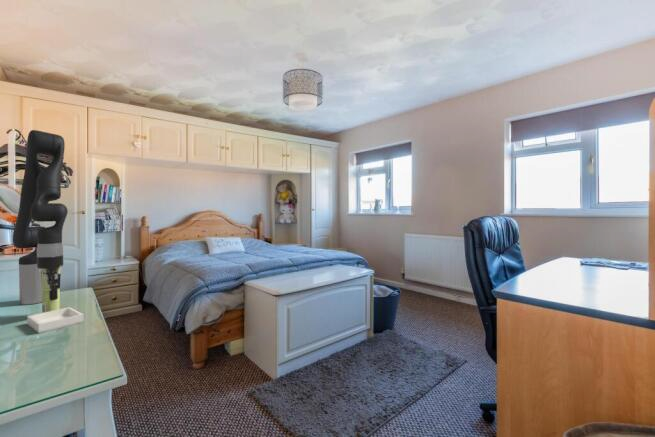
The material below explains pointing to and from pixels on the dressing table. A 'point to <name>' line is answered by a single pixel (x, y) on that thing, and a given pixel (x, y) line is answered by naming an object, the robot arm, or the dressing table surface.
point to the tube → (46, 302)
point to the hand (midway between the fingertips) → (51, 298)
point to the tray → (54, 319)
